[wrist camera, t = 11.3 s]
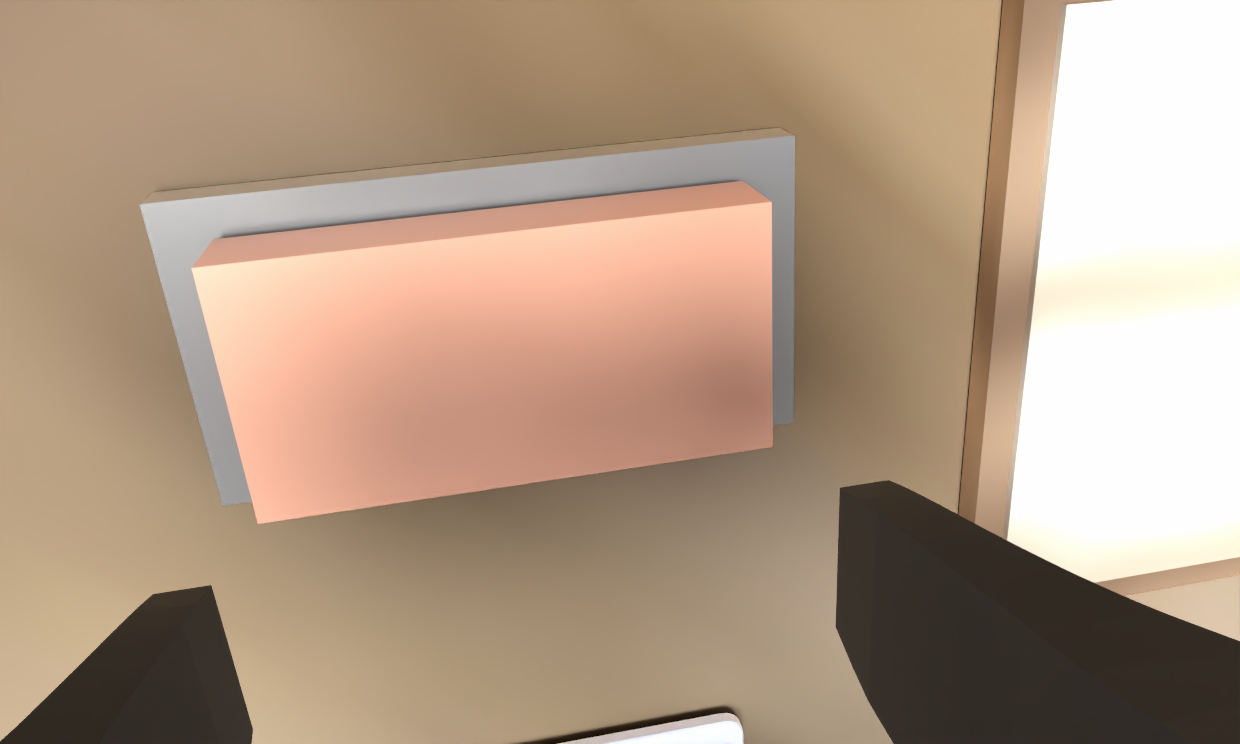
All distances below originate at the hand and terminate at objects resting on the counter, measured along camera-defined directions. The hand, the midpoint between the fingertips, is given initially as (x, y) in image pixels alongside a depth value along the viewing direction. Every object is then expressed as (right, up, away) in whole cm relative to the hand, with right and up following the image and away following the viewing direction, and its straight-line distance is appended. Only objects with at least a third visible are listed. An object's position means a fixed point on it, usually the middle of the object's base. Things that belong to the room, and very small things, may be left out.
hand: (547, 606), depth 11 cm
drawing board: (+17, +5, +13) cm, 21 cm away
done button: (-1, +3, +8) cm, 9 cm away
